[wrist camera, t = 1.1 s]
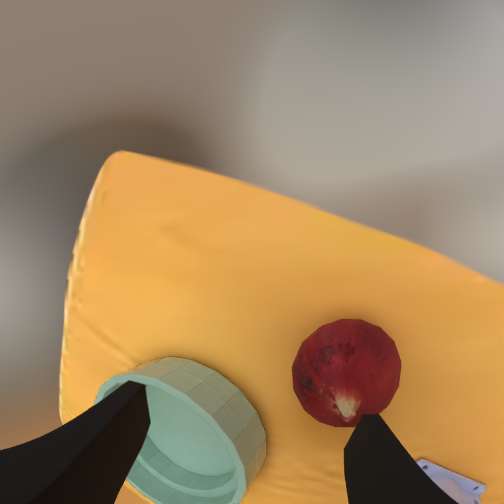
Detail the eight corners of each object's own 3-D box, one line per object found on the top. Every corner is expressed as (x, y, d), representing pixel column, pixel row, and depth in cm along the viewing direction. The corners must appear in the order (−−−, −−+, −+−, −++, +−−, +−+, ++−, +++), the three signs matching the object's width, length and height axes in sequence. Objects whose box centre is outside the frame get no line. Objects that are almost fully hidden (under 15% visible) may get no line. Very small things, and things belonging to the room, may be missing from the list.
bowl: (291, 397, 19) (271, 432, 14) (244, 503, 20) (222, 537, 15) (140, 330, 23) (97, 341, 19) (127, 440, 24) (95, 460, 19)
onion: (292, 374, 19) (253, 434, 11) (324, 295, 19) (302, 320, 11) (369, 403, 17) (370, 476, 10) (406, 326, 17) (438, 369, 9)
